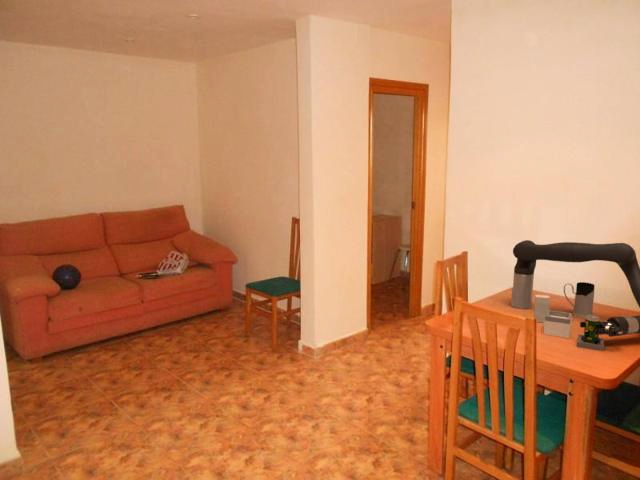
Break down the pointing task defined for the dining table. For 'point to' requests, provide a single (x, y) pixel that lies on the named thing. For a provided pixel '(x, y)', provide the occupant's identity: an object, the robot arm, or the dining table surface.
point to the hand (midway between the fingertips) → (587, 328)
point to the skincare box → (541, 307)
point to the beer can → (591, 329)
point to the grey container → (583, 299)
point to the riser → (558, 323)
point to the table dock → (590, 344)
